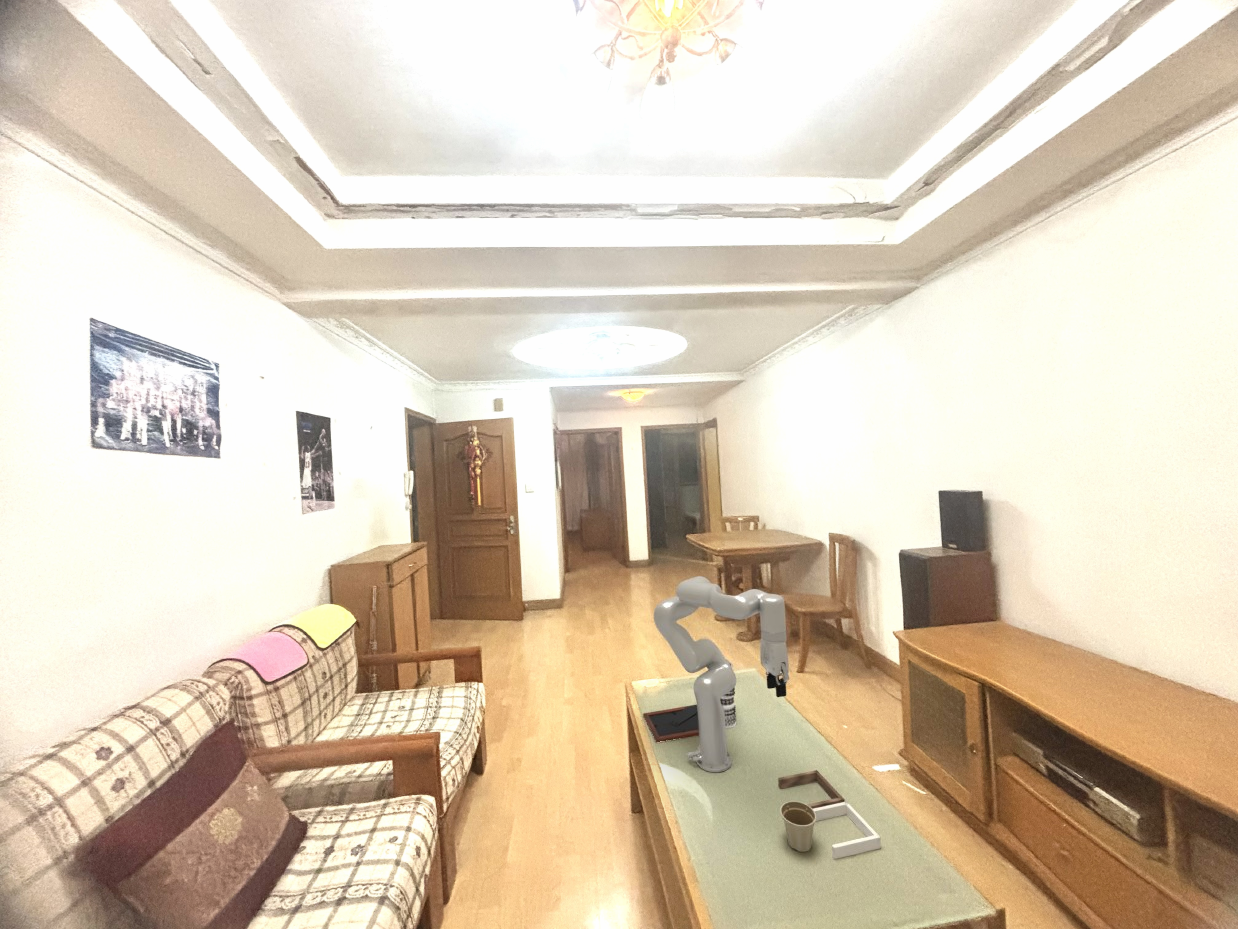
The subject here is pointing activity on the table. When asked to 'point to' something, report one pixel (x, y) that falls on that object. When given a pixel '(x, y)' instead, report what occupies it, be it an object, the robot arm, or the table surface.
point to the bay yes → (844, 808)
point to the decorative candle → (729, 706)
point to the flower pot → (798, 824)
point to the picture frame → (673, 723)
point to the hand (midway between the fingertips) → (776, 691)
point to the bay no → (809, 778)
